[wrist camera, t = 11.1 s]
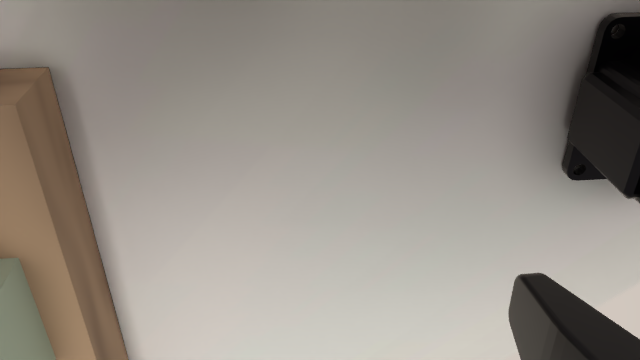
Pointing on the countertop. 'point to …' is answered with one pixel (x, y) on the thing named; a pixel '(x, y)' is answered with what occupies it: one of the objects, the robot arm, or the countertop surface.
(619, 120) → the robot arm
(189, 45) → the countertop surface
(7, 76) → the walnut base
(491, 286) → the countertop surface
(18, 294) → the sage block
